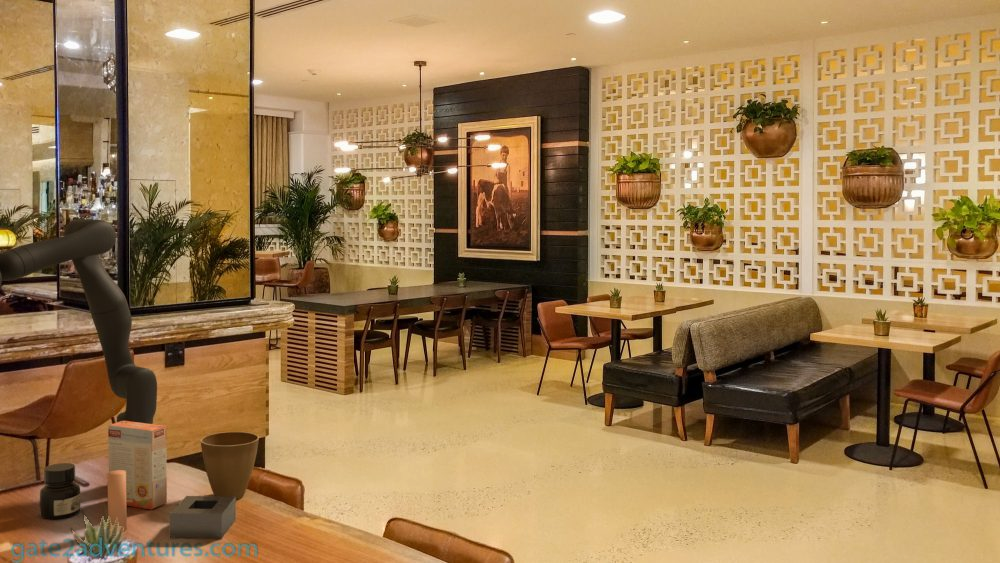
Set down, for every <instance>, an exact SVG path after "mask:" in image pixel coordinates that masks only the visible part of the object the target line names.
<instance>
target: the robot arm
mask: <svg viewBox="0 0 1000 563" xmlns="http://www.w3.org/2000/svg"><path fill="white" fill-rule="evenodd" d="M66 224H67V225H66V226H65V228H64V230H63V236H59V237H56V238H51V239H45V240H40V241H35V242H29V243H26V244H23V245H19V246H16V247H14V248H13V247H12V248H11V249H7V250H4V251H2V252H0V288H1V286H2V282H7V281H8V282H9V281H15V280H16V281H17V280H19V279H21V278H25V277H27V276H30V275H32V274H35V273H37V272H39V271H42V270H43V271H44V270H45V269H48V268H51V267H54V266H57V265H59V264H62V263H66V262H70V261H72V264H73V265H74V267H75V270H76V273H77V274H78V277H79V280H80V283H81V287H82V289H83V290H82V291H83V292H84V296H85V298H86V301H87V305H88V307H89V308H88V309H89V311H90V314H91V318H92V322H93V324H94V328H95V330H96V332H97V336H98V340H99V344H100V346H101V349H102V353H103V356H104V361H105V365H106V371H107V372H106V373H107V378H108V382H109V386H110V389H111V391H112V393H114V395H115V396H117V397H118V398H121V399H124V400H126V402H125V403H126V404H125V410H124V411H123V412H120V413H118V414H117V416H116V423H117V422H120V421H131V422H139V423H147V424H154V417H155V415H156V412H157V405H158V404H157V400H158V399H157V398H158V382H157V377H156V374H155V372H154V371H153V370H152V369H149V368H146V367H142V366H138V365H137V366H136V364H135V361H134V359H133V356H132V353H131V350H130V346H129V341H130V336H131V331H132V325H133V324H132V323H133V320H132V315H131V311H130V308H129V307H130V306H129V304H128V301H127V298H126V296H125V293H124V292H123V291H122V289H121V288H120V287H119V285H118V284H117V283H116V282H115V281H114V280H113V278H112V277H111V276H110V274H108V272H107V270H106V269H105V267H104V265H103V263H102V260H101V257H100V255H103V254H107V253H108V252H109V251H111V250H112V249H113V247H115V246H114V245H115V244H116V239H117V233H116V230H115V228H114V227H113V225H112V224H110V223H109V221H105V220H103V219H96V218H95V219H94V218H84V219H83V218H81V219H73V220H71V221H69V222H68V223H66Z"/></svg>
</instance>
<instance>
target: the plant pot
mask: <svg viewBox="0 0 1000 563" xmlns="http://www.w3.org/2000/svg"><path fill="white" fill-rule="evenodd" d="M259 438H260V436H259V435H258V434H255V433H252V432H247V431H246V432H245V431H225V432H216V433H212V434H208V435H205V436H202V438H201V439H200V446H201V453H202V459H203V460H202V461H203V463H204V464H203V465H204V468H205V472H206V476H207V480H208V482H209V486H210V488H211V491H212V493H213V496H236V500H240V499H241V498H243V497H244V495H245V493H246V491H247V489H248V485H249V484H250V480H251V477H252V473H253V470H254V466H255V462H256V458H257V454H258V453H257V452H258V446H259V440H260V439H259Z"/></svg>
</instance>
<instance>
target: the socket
mask: <svg viewBox="0 0 1000 563" xmlns="http://www.w3.org/2000/svg"><path fill="white" fill-rule="evenodd" d="M236 504H237V503H236V496H214V495H186V496H184V498H183V499H182V500H181V501H179V503H178V504H177V505H176V506H175V507H174V508H173V509H172V510H171V512H169V539H187V540H189V539H193V540H194V539H197V540H198V539H200V540H201V539H202V540H205V539H207V540H209V539H211V540H212V539H213V540H215V539H216V540H219V539H223V538H224V537H225V535H226V534H227V532H228V531H229V529H231V527H232V526H233V525H234V523H235V521H236V516H237V515H236V514H237V512H236V511H237V510H236V509H237V508H236V506H237V505H236Z"/></svg>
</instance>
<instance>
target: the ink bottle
mask: <svg viewBox="0 0 1000 563" xmlns="http://www.w3.org/2000/svg"><path fill="white" fill-rule="evenodd" d="M43 473H44V474H43V480H44V486H43V487H42V488H41V489H40V490H39V513H40V514H39V515H40V517H41V518H42V519H45V520H63V519H68V518H71V517H73V516H75V515H77V514H78V513H80V511H81V486H80V485H79V483H77V482H75V480H76V465H75V464H74V463H71V462H70V463H69V462H62V463H61V462H60V463H54V464H50V465H47V466H45V467H44V469H43Z"/></svg>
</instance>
